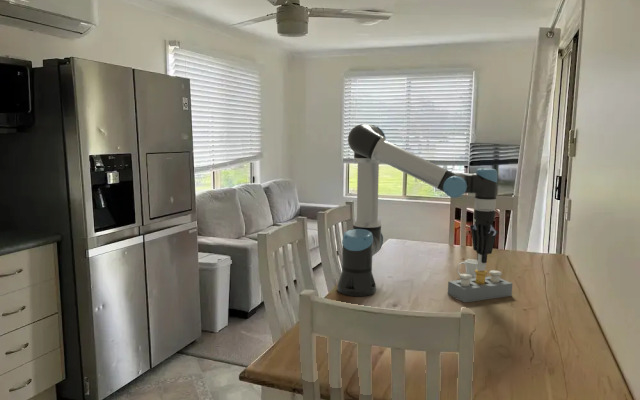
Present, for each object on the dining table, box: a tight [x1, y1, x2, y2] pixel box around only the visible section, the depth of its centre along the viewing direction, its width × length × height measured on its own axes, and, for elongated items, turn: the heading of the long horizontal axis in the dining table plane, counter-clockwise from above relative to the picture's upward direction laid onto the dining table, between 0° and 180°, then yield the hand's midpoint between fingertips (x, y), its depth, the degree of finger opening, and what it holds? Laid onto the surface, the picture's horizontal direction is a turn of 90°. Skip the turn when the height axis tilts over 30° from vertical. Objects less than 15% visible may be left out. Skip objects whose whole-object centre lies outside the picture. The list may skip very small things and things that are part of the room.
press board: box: [447, 275, 513, 303], centre depth 179 cm, size 22×10×5 cm, turn 110°
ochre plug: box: [475, 269, 488, 285], centre depth 179 cm, size 4×4×7 cm
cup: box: [456, 258, 478, 279], centre depth 199 cm, size 7×10×8 cm
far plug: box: [488, 269, 503, 283], centre depth 182 cm, size 4×4×7 cm
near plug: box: [459, 273, 472, 287], centre depth 177 cm, size 4×4×7 cm
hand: (481, 270), depth 178 cm, fingers closed
